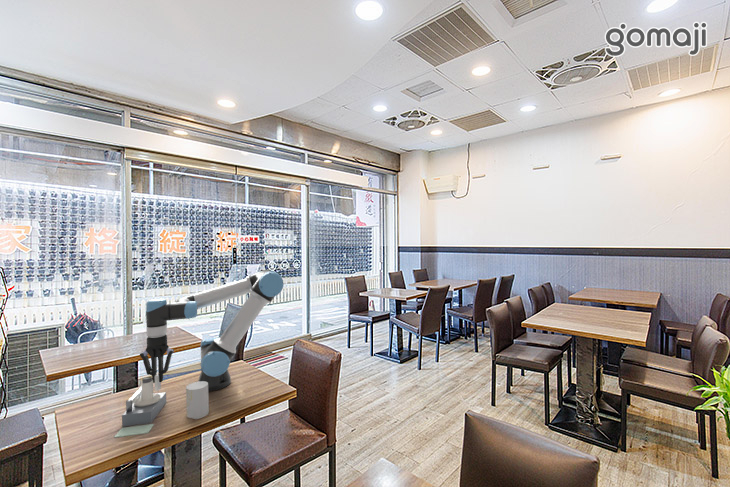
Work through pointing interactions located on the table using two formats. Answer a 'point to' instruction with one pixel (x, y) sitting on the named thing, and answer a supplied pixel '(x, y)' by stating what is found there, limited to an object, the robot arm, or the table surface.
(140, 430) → the mat
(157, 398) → the plug
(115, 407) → the table surface
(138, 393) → the record player tonearm
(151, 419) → the socket block
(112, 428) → the table surface
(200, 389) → the cup
